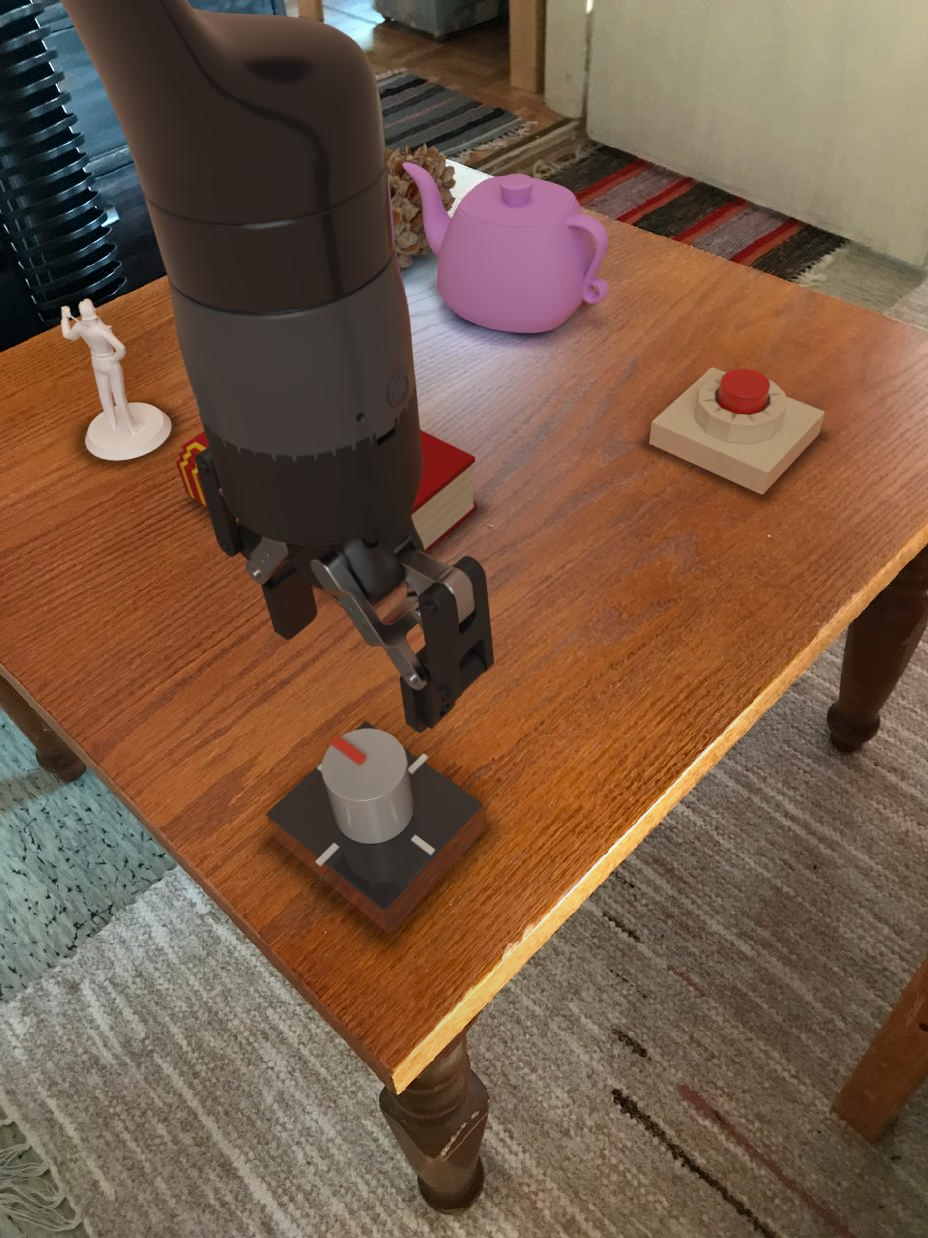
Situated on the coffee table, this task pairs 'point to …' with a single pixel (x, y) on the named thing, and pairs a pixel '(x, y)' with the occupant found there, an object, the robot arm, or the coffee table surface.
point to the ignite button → (743, 391)
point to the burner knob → (368, 785)
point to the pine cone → (415, 198)
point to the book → (437, 499)
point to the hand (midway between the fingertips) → (360, 670)
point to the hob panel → (388, 870)
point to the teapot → (513, 252)
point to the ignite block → (736, 433)
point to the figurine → (114, 395)
